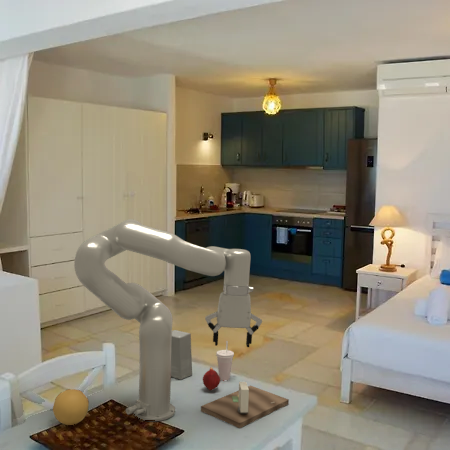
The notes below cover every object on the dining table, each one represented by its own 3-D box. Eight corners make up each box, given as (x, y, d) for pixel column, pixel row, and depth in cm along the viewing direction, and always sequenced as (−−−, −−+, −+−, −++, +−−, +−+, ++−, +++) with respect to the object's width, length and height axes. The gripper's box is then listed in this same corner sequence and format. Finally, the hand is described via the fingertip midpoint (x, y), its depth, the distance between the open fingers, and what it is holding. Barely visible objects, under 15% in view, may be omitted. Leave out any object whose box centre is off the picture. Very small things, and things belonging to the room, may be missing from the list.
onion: (222, 389, 187) (223, 366, 186) (213, 395, 182) (214, 371, 181) (208, 385, 190) (209, 363, 189) (199, 391, 185) (199, 368, 184)
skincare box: (192, 375, 199) (193, 333, 197) (179, 381, 193) (180, 337, 192) (175, 369, 204) (176, 328, 203) (161, 375, 198) (162, 332, 197)
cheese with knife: (249, 416, 163) (250, 389, 162) (238, 416, 163) (239, 389, 162) (243, 396, 177) (244, 372, 176) (233, 397, 177) (234, 372, 176)
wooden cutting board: (239, 428, 159) (240, 422, 159) (200, 411, 170) (200, 405, 169) (288, 404, 177) (288, 398, 176) (250, 390, 187) (250, 384, 187)
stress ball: (81, 434, 154) (101, 403, 160) (59, 415, 150) (80, 383, 155) (61, 428, 161) (81, 399, 167) (39, 410, 156) (60, 380, 162)
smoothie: (231, 383, 193) (232, 344, 192) (213, 381, 194) (214, 342, 193) (234, 376, 199) (235, 339, 198) (217, 374, 200) (218, 337, 199)
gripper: (262, 289, 170) (258, 342, 171) (207, 285, 169) (203, 339, 170) (265, 294, 162) (261, 350, 164) (207, 291, 161) (203, 347, 163)
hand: (231, 345), depth 167 cm, fingers open, 9 cm apart
